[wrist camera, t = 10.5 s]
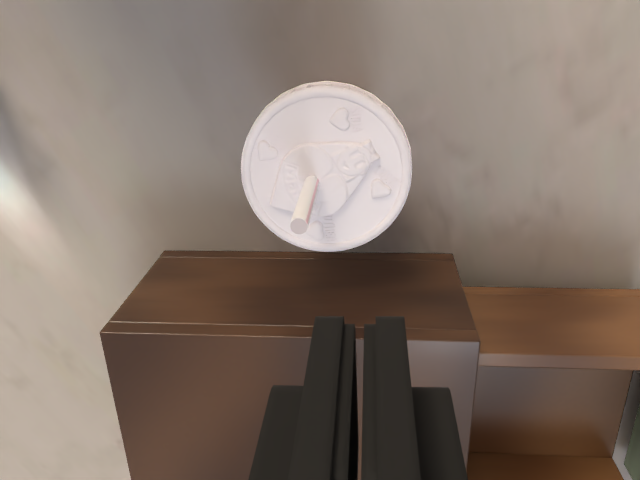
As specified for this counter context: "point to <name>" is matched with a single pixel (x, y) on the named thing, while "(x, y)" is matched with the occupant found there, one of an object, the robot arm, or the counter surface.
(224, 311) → the cabinet
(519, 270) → the counter surface
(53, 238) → the counter surface
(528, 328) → the drawer
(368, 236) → the smoothie
